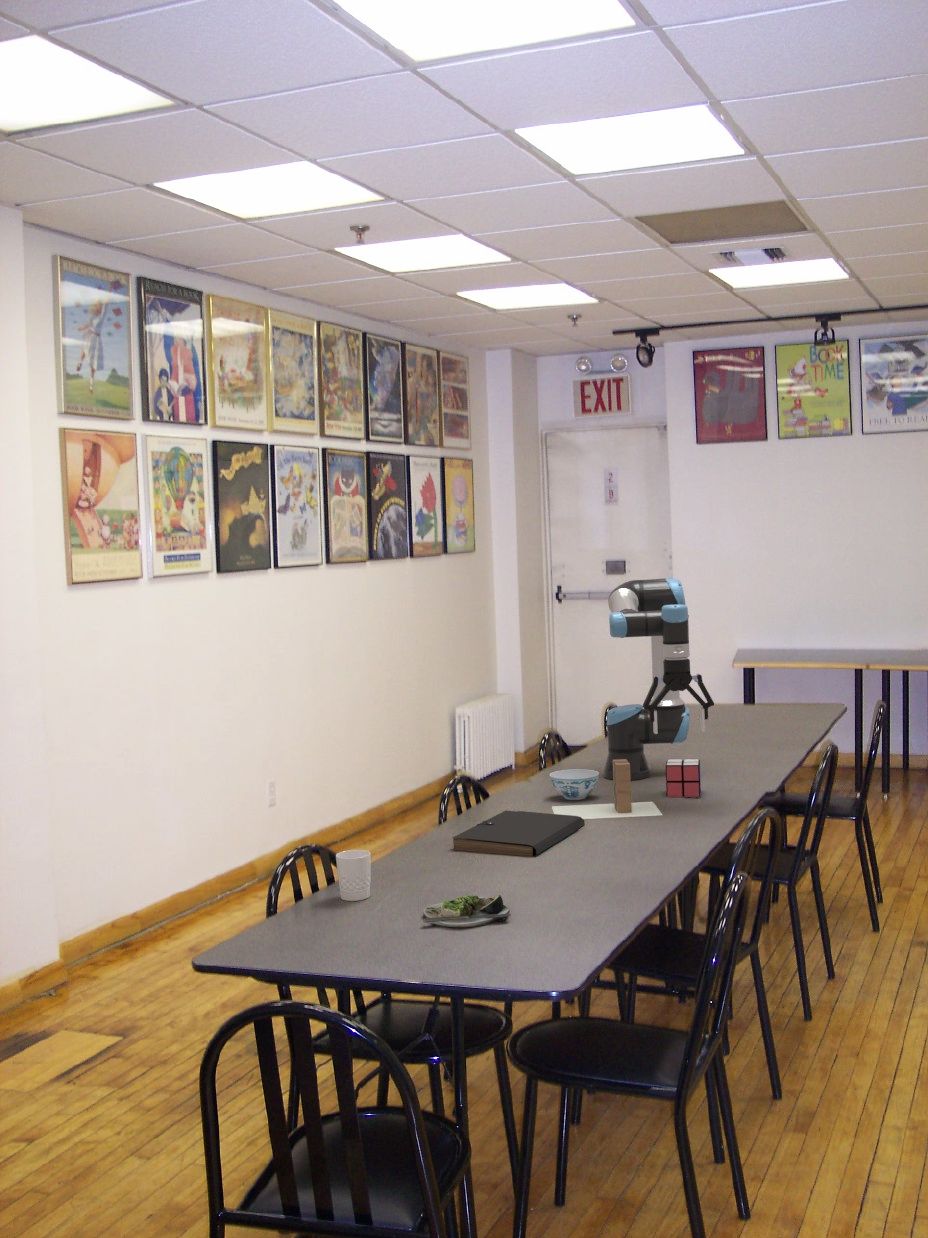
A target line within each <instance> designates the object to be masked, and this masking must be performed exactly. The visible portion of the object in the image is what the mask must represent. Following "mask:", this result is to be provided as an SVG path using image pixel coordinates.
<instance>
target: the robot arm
mask: <svg viewBox="0 0 928 1238" xmlns="http://www.w3.org/2000/svg"><path fill="white" fill-rule="evenodd" d="M607 601H608V603H607V604H608V609H609V610H610V612H611V613H610V614H609V615H608V616H609V619H608V621H609V622H608V623H609V632H610V633H609V634H610V636H611V638H619V639H624V638H638V637H639V638H640V637H650V640H651V641H650V642H651V643H650V645H651V668H652V669H651V670H652V671H651V672H652V673H651V675H652V684H651V686H650V687H649V690H648V693H647V695H646V697H645V699H644V701H643V704H641V703H636V704H635V703H634V704H633V703H632V704H631V703H630V704H625V705H620V706H616V707H613V708H611V709H610V710H608V712H607V717H606V718H607V719H606V721H607V722H606V726H607V745H608V746H607V747H608V749H607V751H608V754H607V757H606V761H605V765H604V768H603V777H604V778H605V779H607V780H608V779H609V780H613V760H619V759H627V761H628V762H629V763H630V776H631V781H635V780H643V779H647V778H649V777H650V776H651V769H650V768H651V767H650V766H649V763H648V760H647V758H646V754H645V750H644V747H645V746H644V745H650V744H651V745H657V744H671V745H672V744H678V743H679V744H680V743H683V742H685V741H686V740H687V738H688V735H689V729H690V708H689V707H688V706H685V705H686V704H685V701H684V700H683V699H682V698H681V697H680V696H681V695H680V692H684V691H685V690H687V691H688V693H689V694H690V695H691V696H693V698H694V699H695V700H696V702H698V703H699V704H700V705H701V706H702V707H699V720H700V721H699V722H700V723H699V724H700V731H701V732H702V733H703V732H704V733H705V732H706V720H709V708H710V707H713V706H714V705H715V702H714V700H713V698H712V696H711V695H710V693H709V692H708V689H707V687H706V685H705V684H704V682H703V678H702V677H703V676H702V675H701V674H700V673H696V674H694V675H692V674H691V660H690V659H689V658H690V655H691V654H690V640H689V639H690V637H689V635H690V632H689V631H690V630H689V628H690V627H689V626H690V625H689V618H690V617H689V616H690V615H689V610H688V606H687V605H686V599H685V593H684V589H683V584H682V582H681V580H680V579H678V578H667V577H666V578H651V579H649V578H648V579H632V580H627V581H625V582H623V583H621V584H619V585H618V586H616V587H615V588H613V590H612V591H611V593H610V594H609V596H608V600H607ZM693 680H694V682H695V683H697V686H698V688H699V689H700V691H701V693H702V694H703V696H704V698H705V700H706V701H707V702H706V701H704V700H703V698H702V697H701V696H700V695H699V694H698V693H697V692H696V691H695V690H694V689H693V688H692V686H691V685H690V684H691V683H692V681H693Z"/></svg>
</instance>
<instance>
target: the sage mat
mask: <svg viewBox="0 0 928 1238" xmlns="http://www.w3.org/2000/svg"><path fill="white" fill-rule="evenodd" d="M551 810H552V812H553V813H552V814H560V815H571V816H579V817H581V818H582V819H583V820H591V819H594V820H597V819H614V818H615V819H616V818H632V817H633V818H634V817H636V818H637V817H639V818H640V817H654V816H656V817H657V816H663V813H662V812H661V811H660V809H659V808H658V806H657V805H656V804H655V802H654V801H639V802H638V801H637V802H632V813H617V811H616V809H615V807H614V803H597V804H595V803H594V804H593V803H592V804H576V805H572V804H571V805H557V806H556V805H552V806H551Z"/></svg>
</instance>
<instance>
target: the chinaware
mask: <svg viewBox="0 0 928 1238" xmlns="http://www.w3.org/2000/svg"><path fill="white" fill-rule="evenodd" d="M599 776H600V773H599V771H597V770H593V769H585V768H584V769H583V768H574V769H573V768H571V769H562V770H556V771H553V772H550V773H549V778H550V781H551V784H552V787H553V788H554V790H555V791H556V792H557V793H558V794H560V796H562V797H563V799H565V800H569V801H577V800H578V801H579V800H584V799H586V798H587V796H589V794H591V793H592V792H593V791H594V790H595V788H596V786H597V784H598V781H599Z"/></svg>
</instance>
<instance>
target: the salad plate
mask: <svg viewBox="0 0 928 1238" xmlns="http://www.w3.org/2000/svg"><path fill="white" fill-rule="evenodd" d="M510 912H511V911H510V908H509V907H507V906H506V905H504V900H503V898H502V895H500V894H497V895H495V896H494V897H486V896H479V895H473V894H472V895H463V896H459V897H456V898H455V899H452V900H451V899H450V900H446V901H444V902H439V903H434V904H429V905H427V906H425V908H424V910H423V911H422V914H423V915H424V918H422V923H425V924H426V923H427V924H434V925H436V926H439V927H448V928H458V929H461V928H465V929H466V928H474V927H478V926H482V925H488V924H493V923H494V924H495V923H497V922H501V921H503V920H505V919H506V918H508V917H510V916H512V914H511V913H510ZM440 914H441V915H440ZM439 915H440V916H439Z"/></svg>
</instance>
